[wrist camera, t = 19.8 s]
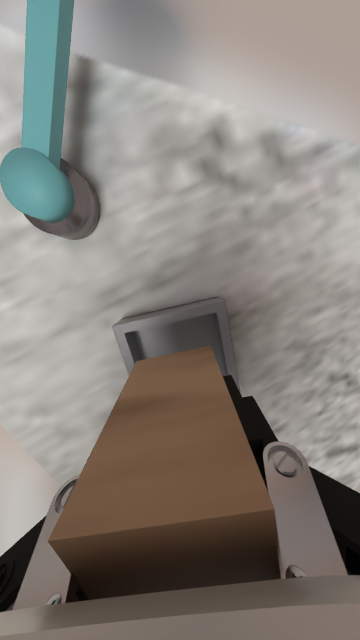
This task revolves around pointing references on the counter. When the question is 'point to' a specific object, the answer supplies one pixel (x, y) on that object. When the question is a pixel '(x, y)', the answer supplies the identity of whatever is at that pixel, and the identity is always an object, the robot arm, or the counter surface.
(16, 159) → the crank
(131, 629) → the robot arm
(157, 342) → the tray
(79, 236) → the base
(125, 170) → the counter surface
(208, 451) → the block
